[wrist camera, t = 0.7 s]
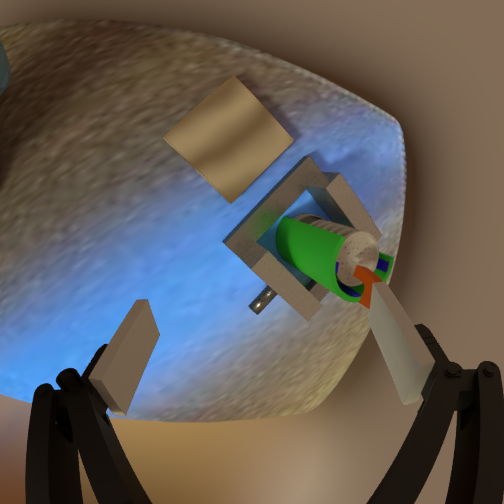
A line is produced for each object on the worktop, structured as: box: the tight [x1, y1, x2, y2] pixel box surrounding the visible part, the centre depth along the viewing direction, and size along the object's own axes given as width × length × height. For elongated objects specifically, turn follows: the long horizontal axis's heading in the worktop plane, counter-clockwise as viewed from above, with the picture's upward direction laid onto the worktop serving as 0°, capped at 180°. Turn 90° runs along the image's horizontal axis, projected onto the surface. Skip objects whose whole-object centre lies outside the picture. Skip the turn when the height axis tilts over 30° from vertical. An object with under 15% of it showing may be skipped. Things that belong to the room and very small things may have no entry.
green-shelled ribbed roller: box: [276, 213, 394, 309], centre depth 34 cm, size 9×8×18 cm
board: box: [163, 75, 294, 204], centre depth 34 cm, size 12×12×2 cm
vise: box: [222, 156, 382, 321], centre depth 39 cm, size 18×21×6 cm
